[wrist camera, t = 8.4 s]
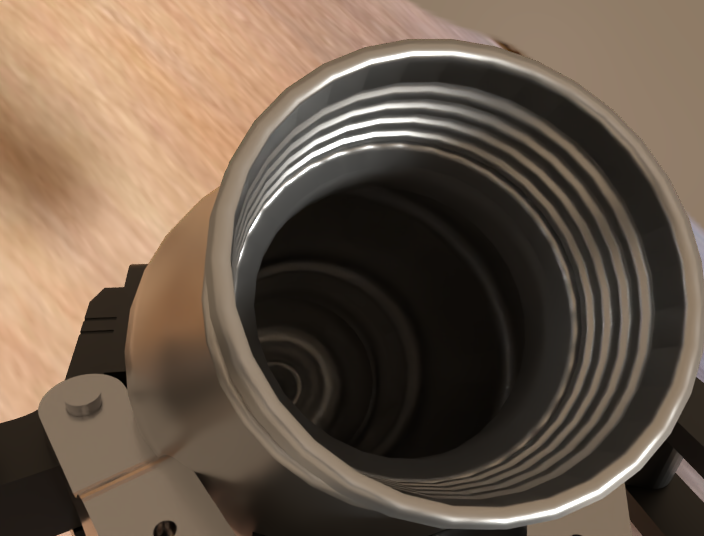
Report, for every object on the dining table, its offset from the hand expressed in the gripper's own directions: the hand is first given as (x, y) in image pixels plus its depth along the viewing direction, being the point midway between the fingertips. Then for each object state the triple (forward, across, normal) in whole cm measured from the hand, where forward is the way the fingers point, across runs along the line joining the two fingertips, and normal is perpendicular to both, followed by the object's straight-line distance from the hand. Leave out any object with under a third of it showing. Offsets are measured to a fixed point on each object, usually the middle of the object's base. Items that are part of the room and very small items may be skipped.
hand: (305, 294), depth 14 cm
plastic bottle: (+6, 0, +9) cm, 11 cm away
